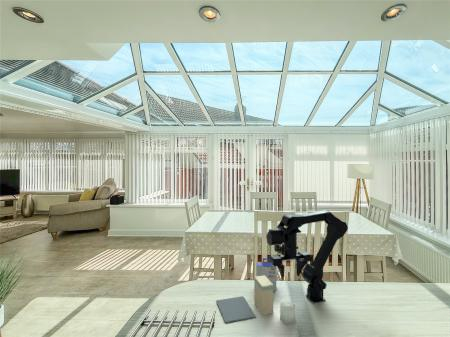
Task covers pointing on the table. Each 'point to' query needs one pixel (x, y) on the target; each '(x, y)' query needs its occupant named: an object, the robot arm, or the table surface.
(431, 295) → the table surface
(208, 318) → the table surface
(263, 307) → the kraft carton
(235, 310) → the mat
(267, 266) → the product box
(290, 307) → the white rounded cylinder
